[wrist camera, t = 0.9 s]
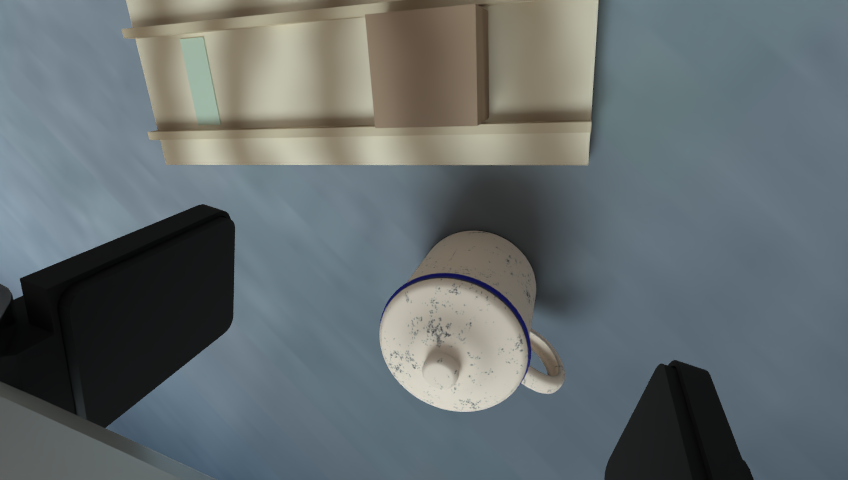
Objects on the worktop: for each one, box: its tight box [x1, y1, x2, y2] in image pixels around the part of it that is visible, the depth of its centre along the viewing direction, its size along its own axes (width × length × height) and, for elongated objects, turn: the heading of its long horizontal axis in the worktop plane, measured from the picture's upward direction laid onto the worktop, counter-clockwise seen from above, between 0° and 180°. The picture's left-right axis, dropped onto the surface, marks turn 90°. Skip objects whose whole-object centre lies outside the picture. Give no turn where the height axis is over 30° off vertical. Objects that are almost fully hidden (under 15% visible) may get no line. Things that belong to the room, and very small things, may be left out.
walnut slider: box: [365, 4, 489, 128], centre depth 27 cm, size 6×6×4 cm
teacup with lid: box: [379, 231, 565, 412], centre depth 30 cm, size 12×9×12 cm
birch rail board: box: [122, 0, 599, 165], centre depth 32 cm, size 32×12×2 cm, turn 94°
